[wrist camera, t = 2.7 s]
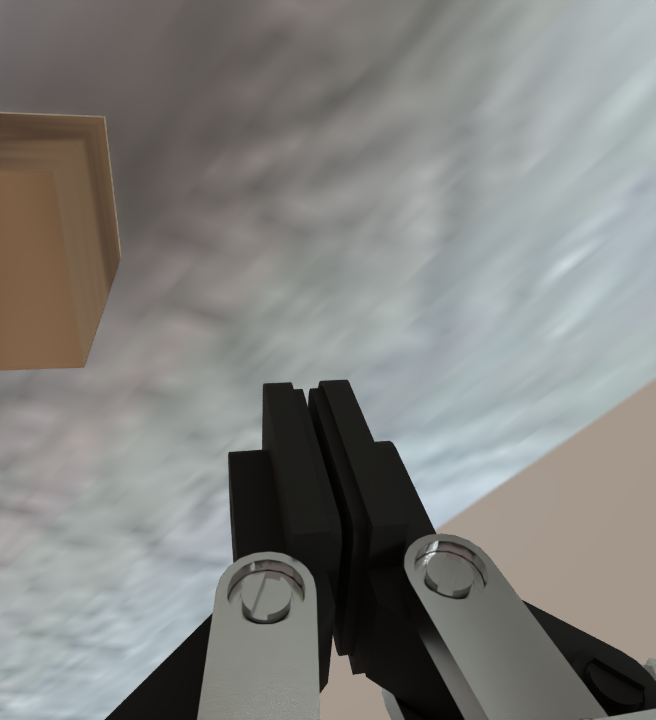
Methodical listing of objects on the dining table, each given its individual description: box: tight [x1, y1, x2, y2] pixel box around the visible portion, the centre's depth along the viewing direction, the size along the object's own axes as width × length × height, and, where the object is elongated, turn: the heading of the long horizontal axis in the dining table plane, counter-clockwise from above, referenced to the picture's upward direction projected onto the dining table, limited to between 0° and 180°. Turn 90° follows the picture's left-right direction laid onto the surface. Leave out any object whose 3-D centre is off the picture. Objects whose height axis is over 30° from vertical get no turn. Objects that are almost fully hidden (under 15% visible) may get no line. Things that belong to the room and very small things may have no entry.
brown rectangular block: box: [0, 112, 121, 370], centre depth 21 cm, size 6×6×10 cm
